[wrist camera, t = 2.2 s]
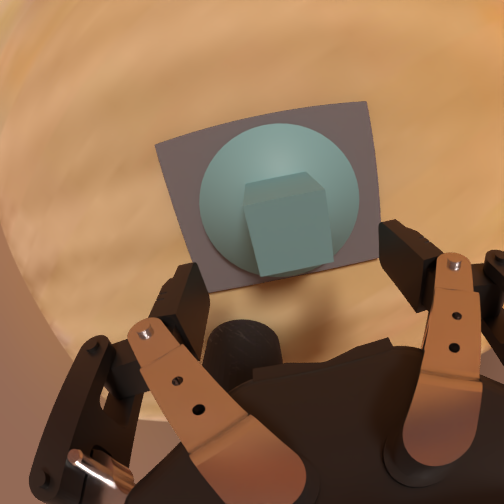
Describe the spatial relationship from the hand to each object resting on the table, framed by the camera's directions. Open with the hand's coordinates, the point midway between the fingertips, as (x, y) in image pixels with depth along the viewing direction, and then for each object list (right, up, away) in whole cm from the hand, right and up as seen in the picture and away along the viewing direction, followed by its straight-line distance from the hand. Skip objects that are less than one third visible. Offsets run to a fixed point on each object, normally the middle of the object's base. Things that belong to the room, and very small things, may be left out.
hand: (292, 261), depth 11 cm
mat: (0, +4, +8) cm, 9 cm away
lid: (0, +4, +7) cm, 8 cm away
